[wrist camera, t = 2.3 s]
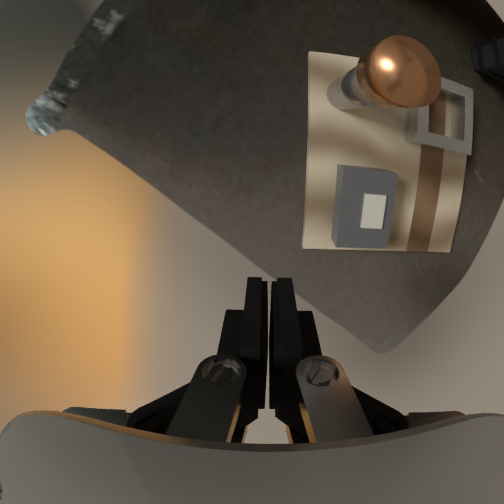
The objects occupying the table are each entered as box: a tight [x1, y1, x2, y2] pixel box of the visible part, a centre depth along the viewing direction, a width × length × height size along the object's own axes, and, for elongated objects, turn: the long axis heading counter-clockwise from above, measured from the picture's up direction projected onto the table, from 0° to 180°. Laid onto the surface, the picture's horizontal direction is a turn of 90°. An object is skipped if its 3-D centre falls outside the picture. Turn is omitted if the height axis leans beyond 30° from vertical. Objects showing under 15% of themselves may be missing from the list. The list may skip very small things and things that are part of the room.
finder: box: [331, 164, 398, 249], centre depth 24 cm, size 7×5×3 cm
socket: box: [405, 77, 473, 155], centre depth 20 cm, size 7×7×2 cm
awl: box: [327, 35, 441, 111], centre depth 15 cm, size 4×4×13 cm
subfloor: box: [302, 51, 467, 252], centre depth 24 cm, size 19×18×1 cm
